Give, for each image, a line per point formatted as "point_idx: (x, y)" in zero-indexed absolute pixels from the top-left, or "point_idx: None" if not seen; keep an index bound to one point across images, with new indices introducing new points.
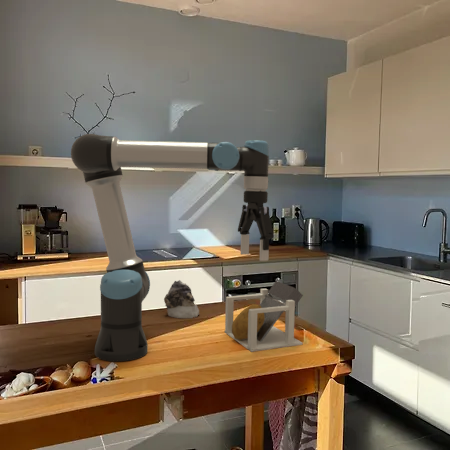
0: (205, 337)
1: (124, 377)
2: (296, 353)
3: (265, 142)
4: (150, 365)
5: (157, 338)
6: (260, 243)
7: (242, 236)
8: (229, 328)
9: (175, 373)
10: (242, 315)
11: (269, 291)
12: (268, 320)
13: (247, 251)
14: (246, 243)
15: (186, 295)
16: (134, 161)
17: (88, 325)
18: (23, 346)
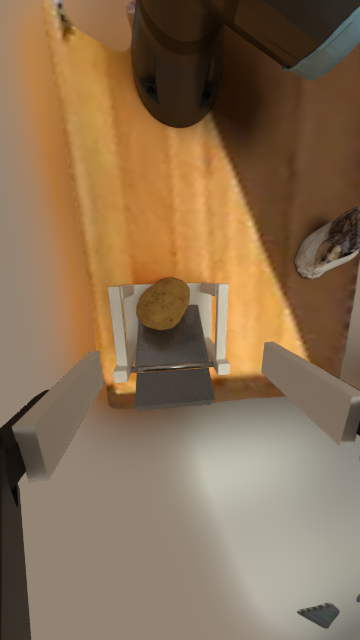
0: (200, 245)
1: (65, 42)
2: (101, 337)
3: None
4: (106, 108)
5: (222, 166)
6: (47, 402)
7: (339, 393)
8: (202, 286)
9: (65, 138)
10: (162, 291)
11: (205, 371)
12: (153, 332)
13: (268, 372)
14: (295, 389)
15: (335, 245)
16: None
17: None
18: None
